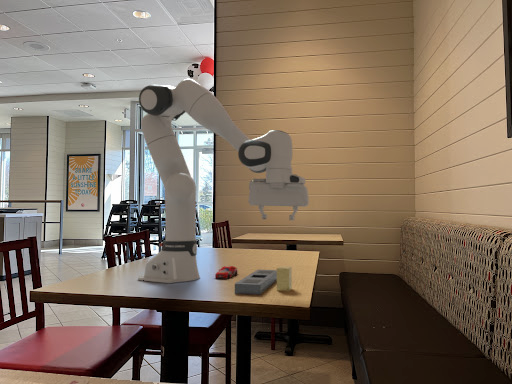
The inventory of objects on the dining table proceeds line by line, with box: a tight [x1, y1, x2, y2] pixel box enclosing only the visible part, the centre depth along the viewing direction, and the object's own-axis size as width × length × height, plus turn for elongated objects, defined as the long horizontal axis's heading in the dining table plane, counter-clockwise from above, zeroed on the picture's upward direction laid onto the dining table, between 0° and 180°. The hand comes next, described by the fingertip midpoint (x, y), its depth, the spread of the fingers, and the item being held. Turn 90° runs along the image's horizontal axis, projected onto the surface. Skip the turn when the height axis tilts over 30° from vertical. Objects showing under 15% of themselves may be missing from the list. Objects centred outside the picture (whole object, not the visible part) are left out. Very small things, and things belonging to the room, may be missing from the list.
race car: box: [214, 265, 238, 280], centre depth 144 cm, size 13×5×4 cm, turn 161°
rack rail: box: [234, 269, 277, 296], centre depth 127 cm, size 8×28×3 cm, turn 165°
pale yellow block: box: [276, 266, 293, 292], centre depth 120 cm, size 4×4×7 cm
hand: (277, 219), depth 126 cm, fingers open, 8 cm apart
